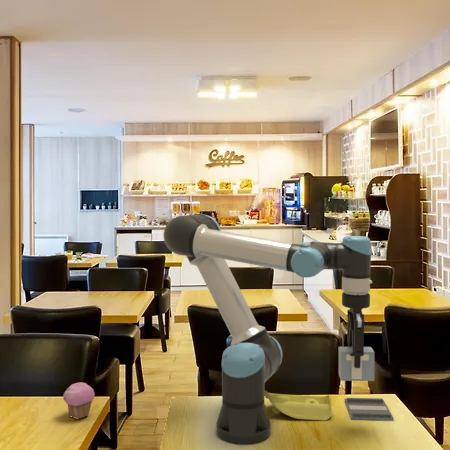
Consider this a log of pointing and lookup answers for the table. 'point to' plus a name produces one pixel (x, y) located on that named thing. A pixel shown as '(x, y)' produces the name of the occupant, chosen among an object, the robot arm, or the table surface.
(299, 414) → the plastic component
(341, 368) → the block
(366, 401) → the rail mount
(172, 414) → the table surface
